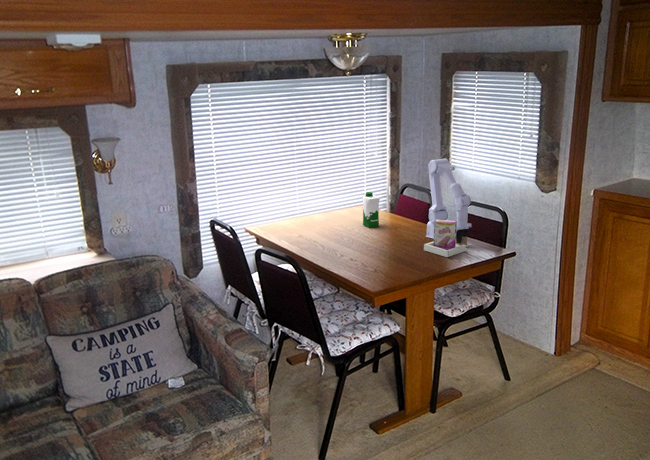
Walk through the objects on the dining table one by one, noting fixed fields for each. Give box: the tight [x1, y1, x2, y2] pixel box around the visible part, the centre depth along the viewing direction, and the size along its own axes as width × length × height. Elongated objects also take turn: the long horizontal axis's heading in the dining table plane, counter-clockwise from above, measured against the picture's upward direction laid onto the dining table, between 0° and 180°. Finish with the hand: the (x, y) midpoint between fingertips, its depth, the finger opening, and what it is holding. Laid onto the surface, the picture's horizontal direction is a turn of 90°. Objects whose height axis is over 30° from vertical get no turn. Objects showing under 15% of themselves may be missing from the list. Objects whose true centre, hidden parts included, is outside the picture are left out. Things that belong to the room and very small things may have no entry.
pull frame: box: [423, 236, 471, 258], centre depth 316 cm, size 15×25×5 cm, turn 130°
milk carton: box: [362, 191, 381, 229], centre depth 358 cm, size 9×9×20 cm
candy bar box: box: [433, 219, 457, 250], centre depth 311 cm, size 11×5×16 cm, turn 74°
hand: (460, 242), depth 321 cm, fingers closed on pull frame, 2 cm apart
